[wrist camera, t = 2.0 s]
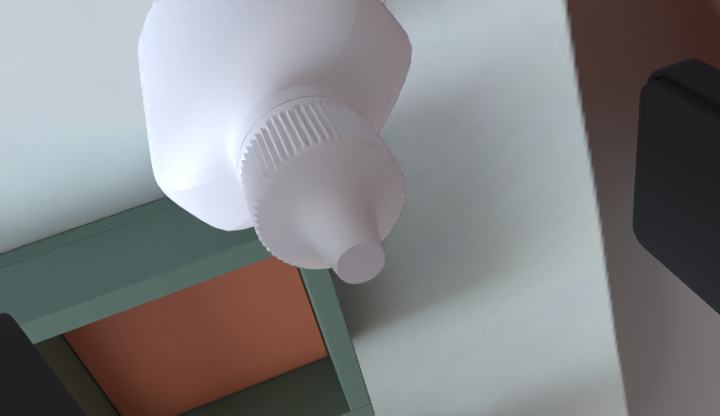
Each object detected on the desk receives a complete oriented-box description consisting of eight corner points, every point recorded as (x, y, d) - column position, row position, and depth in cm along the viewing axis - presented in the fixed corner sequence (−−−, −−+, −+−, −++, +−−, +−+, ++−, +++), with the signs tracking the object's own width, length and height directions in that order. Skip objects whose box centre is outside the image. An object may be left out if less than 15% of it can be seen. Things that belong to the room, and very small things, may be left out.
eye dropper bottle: (339, 45, 20) (550, 301, 11) (160, 104, 19) (214, 434, 10) (304, -107, 17) (543, 51, 8) (95, -46, 17) (82, 208, 7)
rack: (-315, 362, 19) (-393, 474, 16) (284, 154, 21) (313, 218, 18) (-108, 522, 25) (-137, 626, 22) (345, 344, 27) (375, 416, 24)
